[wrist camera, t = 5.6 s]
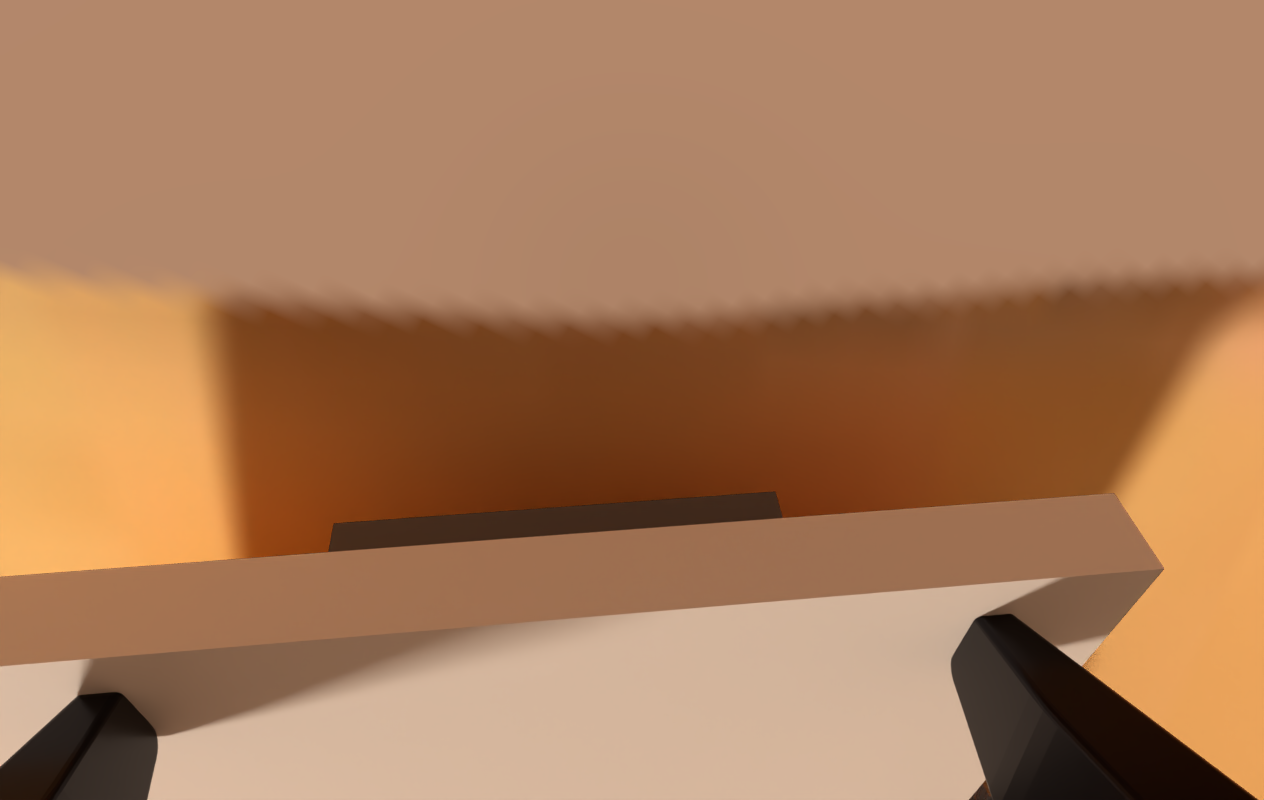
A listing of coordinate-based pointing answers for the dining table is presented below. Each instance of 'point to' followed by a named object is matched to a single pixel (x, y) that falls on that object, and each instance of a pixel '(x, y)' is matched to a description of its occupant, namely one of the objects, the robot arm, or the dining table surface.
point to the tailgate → (575, 650)
